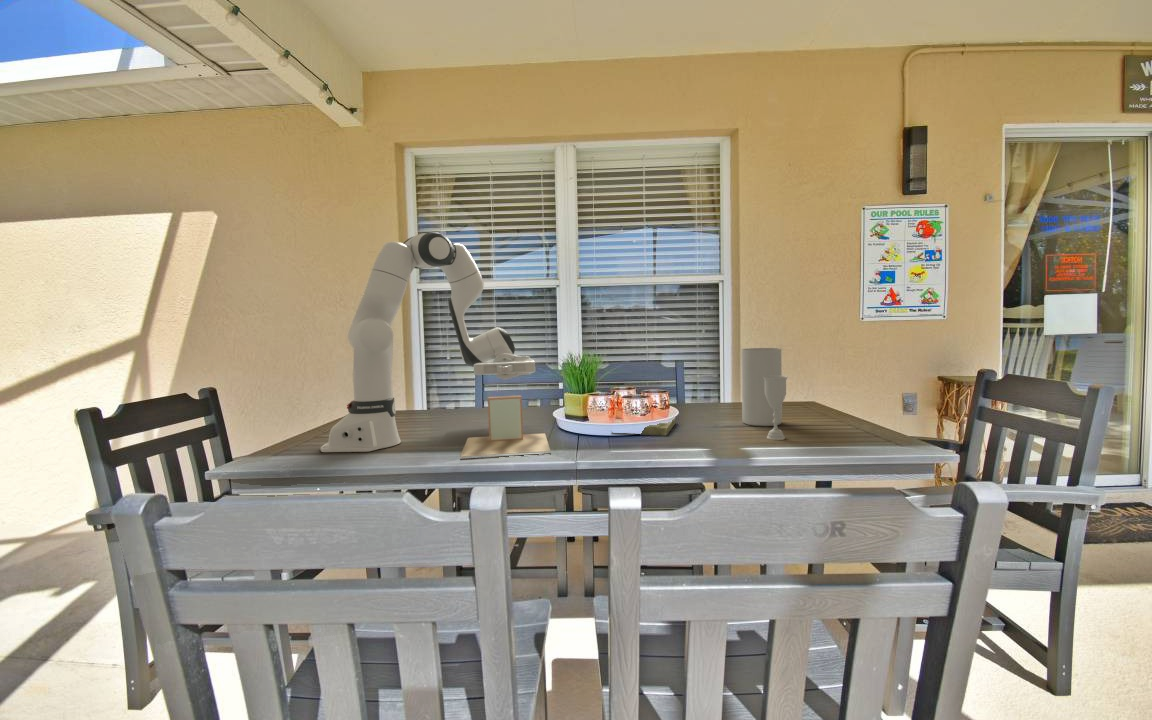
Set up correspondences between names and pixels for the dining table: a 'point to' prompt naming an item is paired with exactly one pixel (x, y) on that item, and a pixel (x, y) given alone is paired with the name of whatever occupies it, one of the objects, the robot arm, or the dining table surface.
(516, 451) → the oak board
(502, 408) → the terracotta tile
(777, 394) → the chalice
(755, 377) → the cylinder vase
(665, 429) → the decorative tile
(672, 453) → the dining table surface
